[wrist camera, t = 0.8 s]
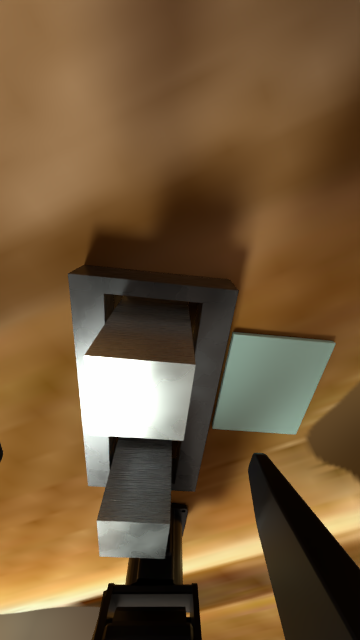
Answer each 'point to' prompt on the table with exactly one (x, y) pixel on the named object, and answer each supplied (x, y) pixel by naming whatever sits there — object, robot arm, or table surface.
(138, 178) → the table surface
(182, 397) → the block
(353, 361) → the table surface
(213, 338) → the rail
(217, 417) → the mat
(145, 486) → the block
